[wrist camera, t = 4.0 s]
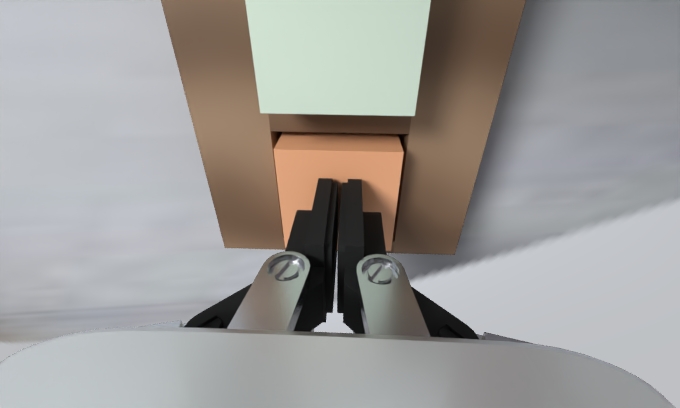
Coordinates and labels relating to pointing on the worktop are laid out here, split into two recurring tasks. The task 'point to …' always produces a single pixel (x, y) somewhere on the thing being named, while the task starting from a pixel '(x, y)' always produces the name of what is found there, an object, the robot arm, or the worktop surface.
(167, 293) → the worktop surface
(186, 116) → the worktop surface
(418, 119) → the key panel
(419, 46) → the sage key
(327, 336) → the robot arm
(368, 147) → the terracotta key
